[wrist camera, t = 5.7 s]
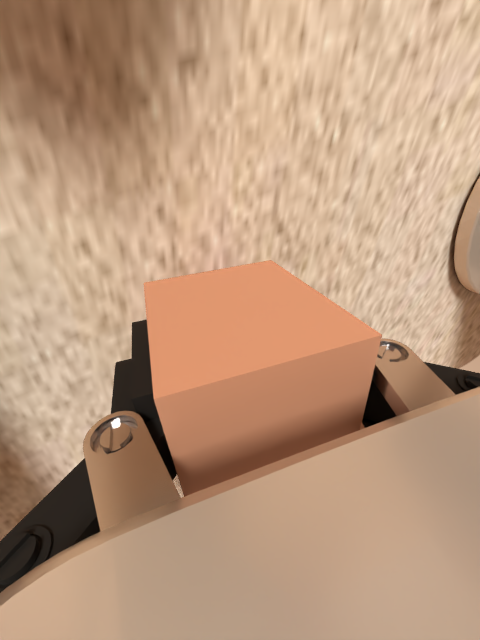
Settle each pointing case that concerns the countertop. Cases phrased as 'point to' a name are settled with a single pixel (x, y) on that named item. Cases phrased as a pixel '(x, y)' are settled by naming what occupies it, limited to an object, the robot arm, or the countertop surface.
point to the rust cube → (252, 369)
